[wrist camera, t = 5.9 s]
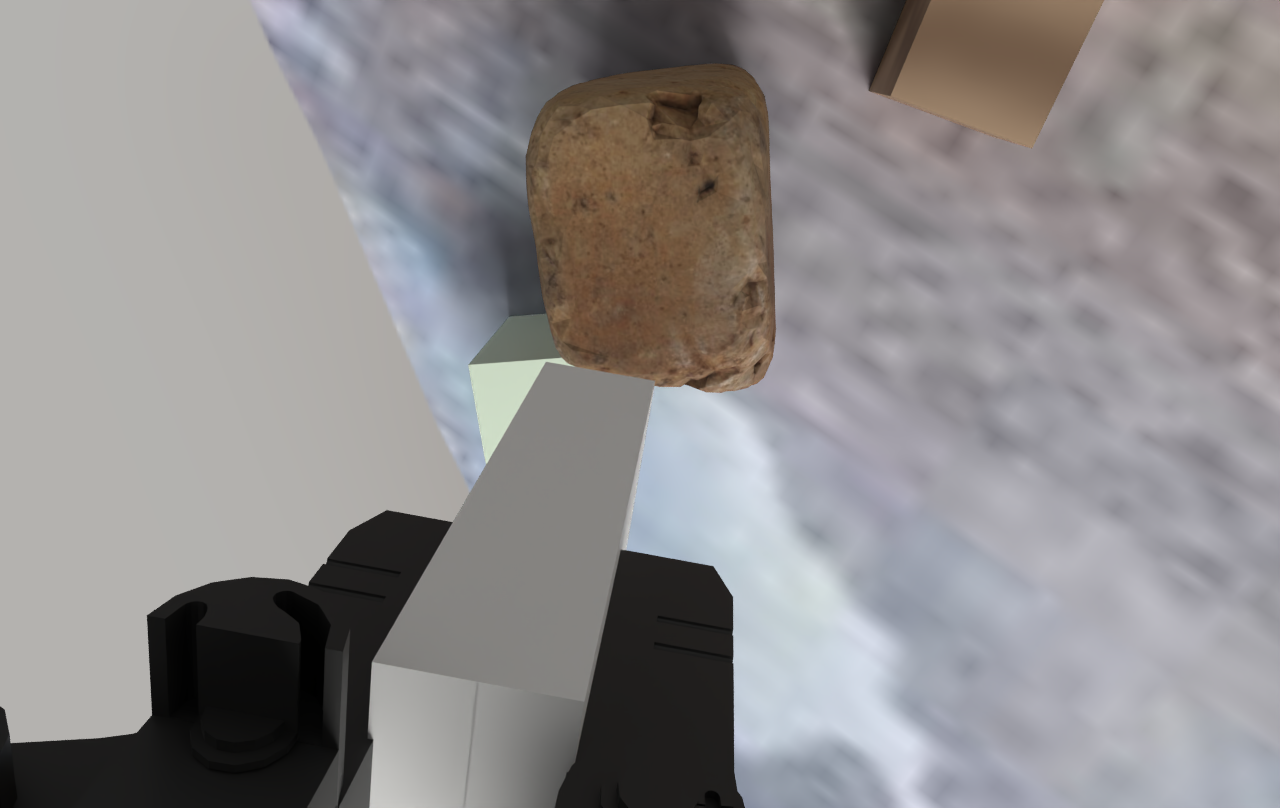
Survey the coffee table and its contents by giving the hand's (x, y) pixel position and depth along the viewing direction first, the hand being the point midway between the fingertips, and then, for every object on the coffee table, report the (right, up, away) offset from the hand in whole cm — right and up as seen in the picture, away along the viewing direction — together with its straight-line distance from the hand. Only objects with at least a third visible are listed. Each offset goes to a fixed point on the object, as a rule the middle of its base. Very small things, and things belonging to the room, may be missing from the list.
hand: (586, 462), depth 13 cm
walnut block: (+15, +17, +28) cm, 36 cm away
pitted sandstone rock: (+3, +11, +32) cm, 34 cm away
